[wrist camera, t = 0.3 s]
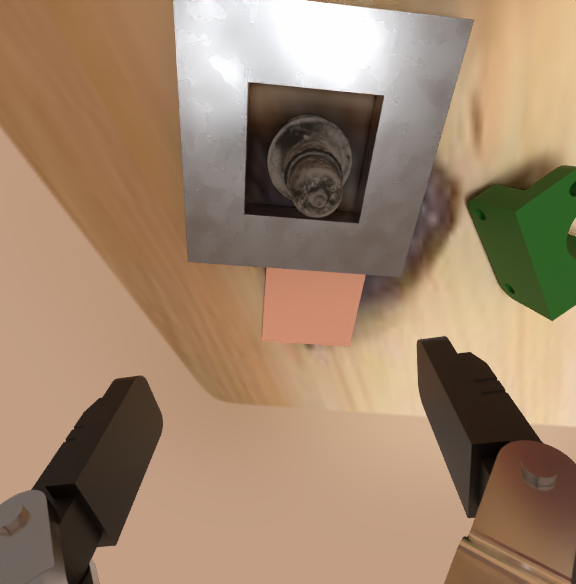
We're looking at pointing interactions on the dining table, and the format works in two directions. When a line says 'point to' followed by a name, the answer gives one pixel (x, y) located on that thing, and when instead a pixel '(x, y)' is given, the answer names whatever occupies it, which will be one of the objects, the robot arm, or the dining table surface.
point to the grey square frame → (319, 75)
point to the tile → (310, 306)
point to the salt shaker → (310, 164)
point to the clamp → (532, 240)
